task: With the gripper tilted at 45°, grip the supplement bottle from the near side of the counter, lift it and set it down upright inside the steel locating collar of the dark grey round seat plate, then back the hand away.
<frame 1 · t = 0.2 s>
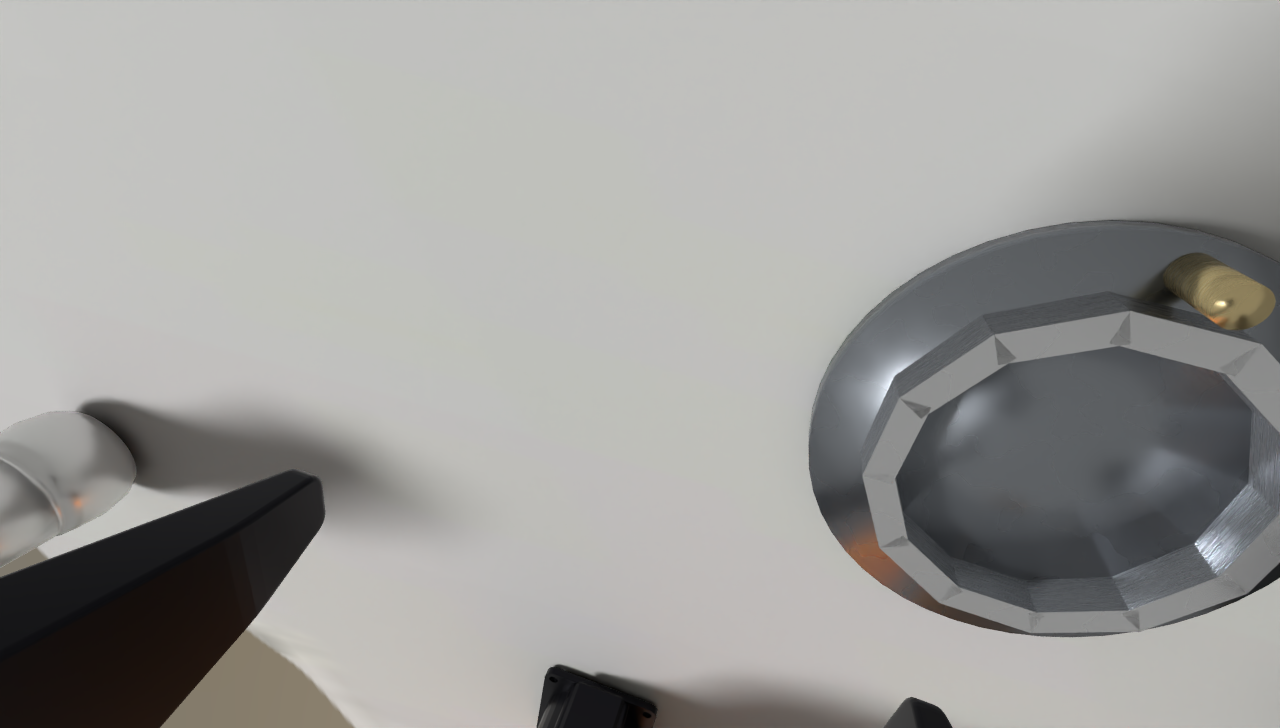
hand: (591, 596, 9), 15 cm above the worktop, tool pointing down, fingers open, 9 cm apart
seat plate: (1048, 449, 21), on the worktop
plastic bottle: (110, 441, 36), on the worktop
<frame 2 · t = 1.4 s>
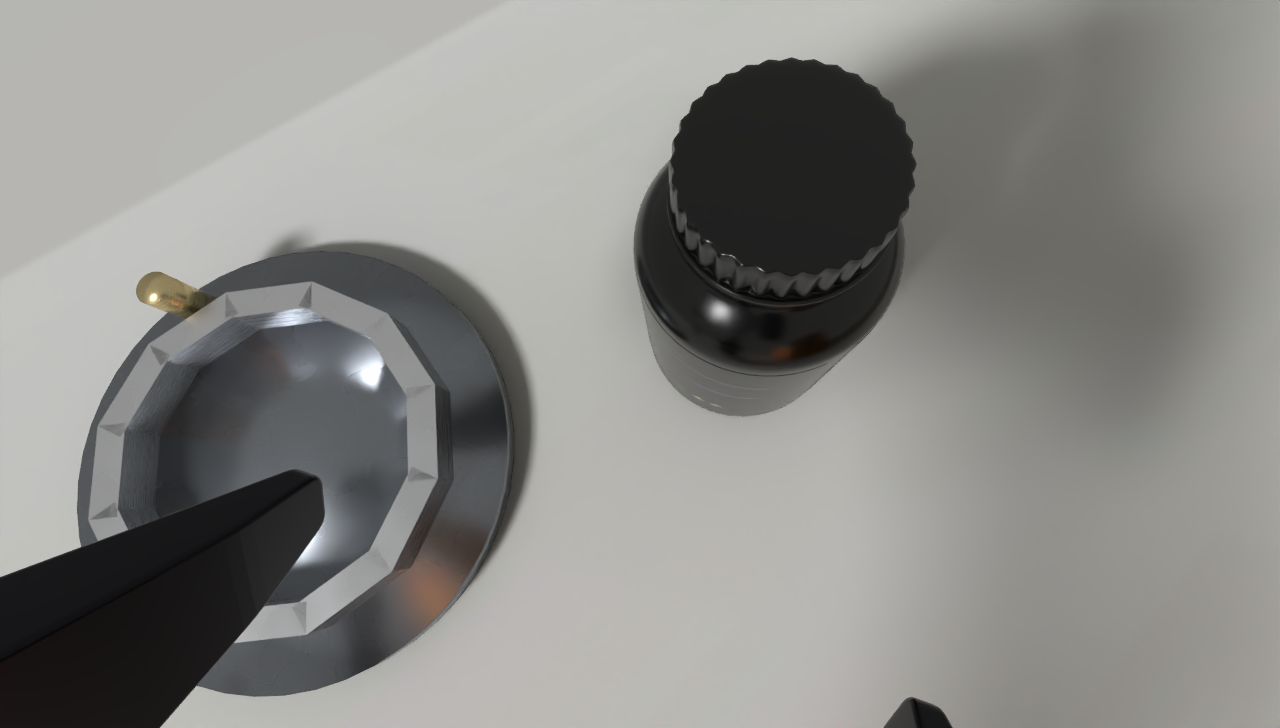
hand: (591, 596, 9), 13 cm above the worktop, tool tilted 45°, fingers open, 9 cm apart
seat plate: (306, 457, 23), on the worktop
supplement bottle: (736, 334, 24), on the worktop
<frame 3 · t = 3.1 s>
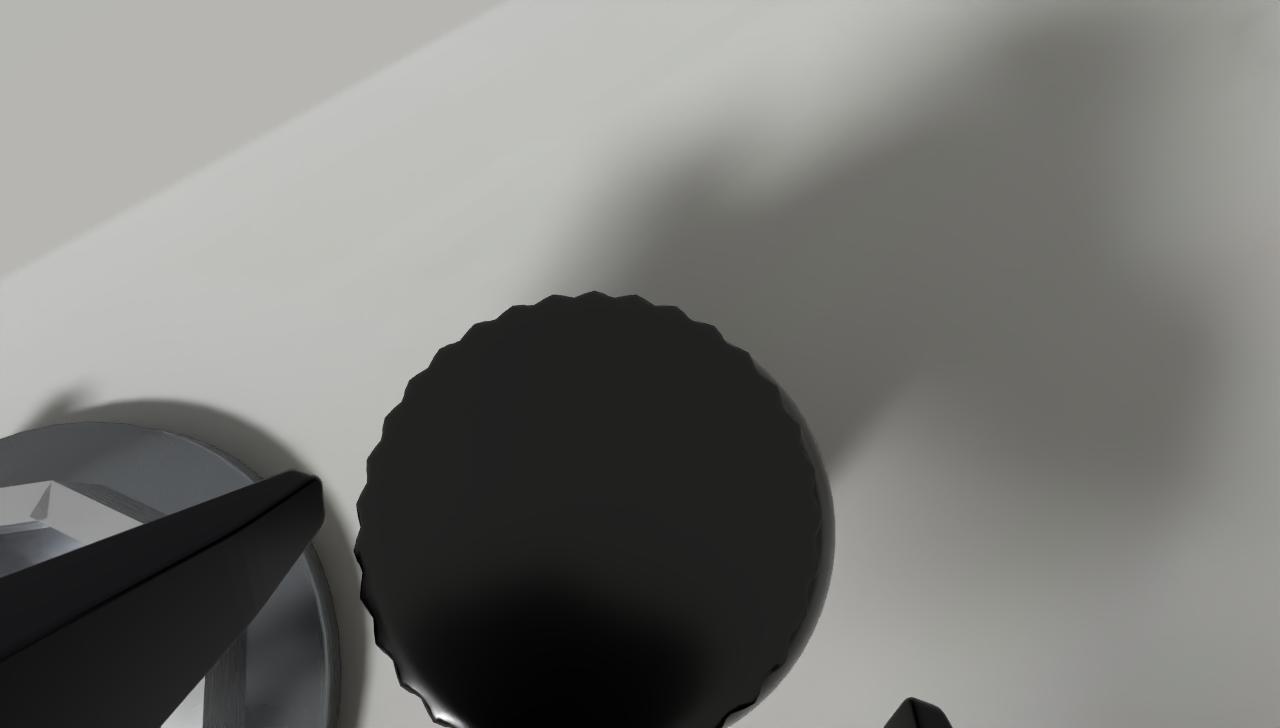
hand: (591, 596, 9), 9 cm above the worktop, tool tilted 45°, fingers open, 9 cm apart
seat plate: (57, 712, 17), on the worktop
supplement bottle: (643, 521, 18), on the worktop
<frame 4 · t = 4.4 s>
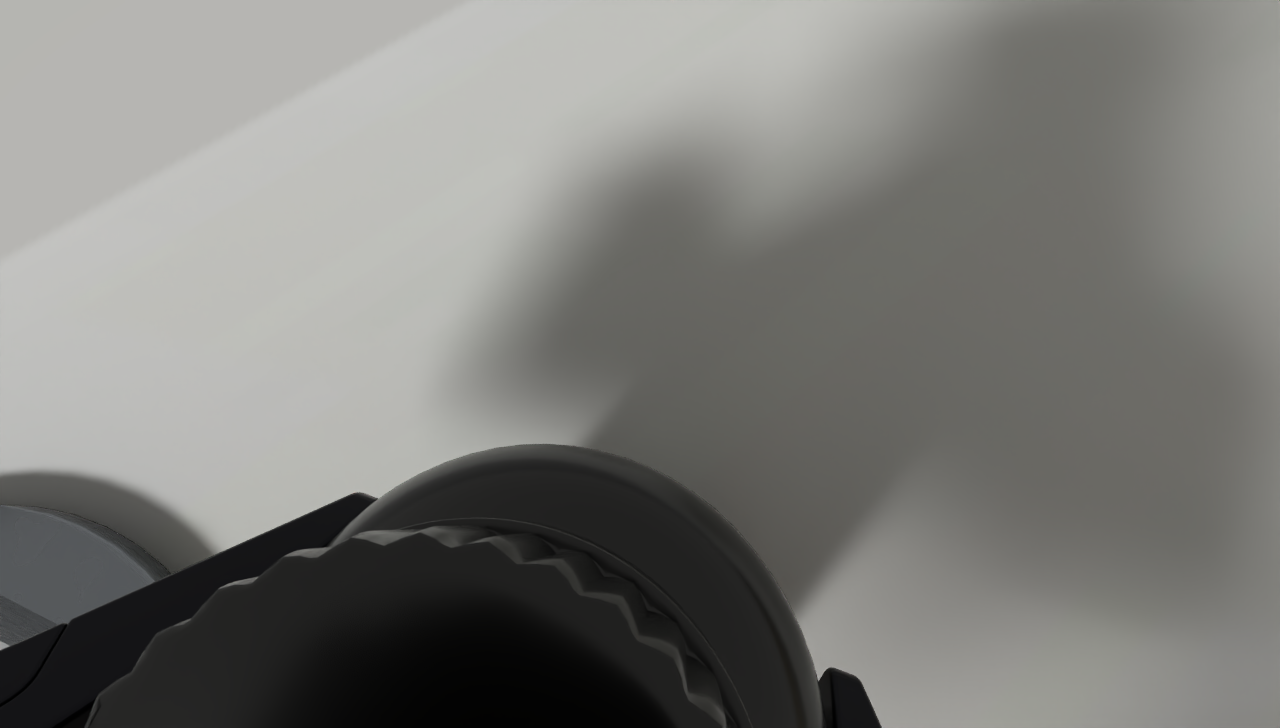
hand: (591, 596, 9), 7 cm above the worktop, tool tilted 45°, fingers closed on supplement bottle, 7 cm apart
supplement bottle: (607, 622, 15), on the worktop, touching gripper
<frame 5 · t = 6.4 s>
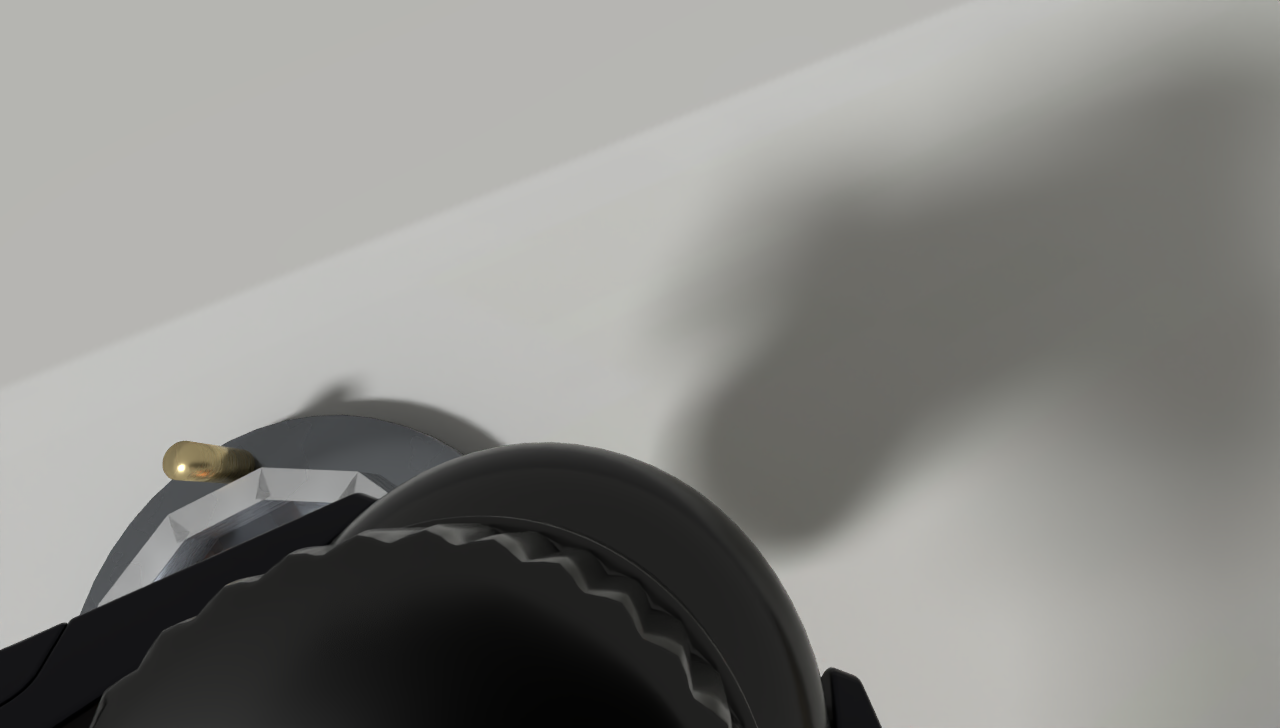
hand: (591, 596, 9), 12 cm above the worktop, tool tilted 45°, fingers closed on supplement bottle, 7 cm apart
seat plate: (321, 655, 20), on the worktop
supplement bottle: (609, 620, 15), point 5 cm above the worktop, touching gripper
when the fingers open (9 cm above the worktop, at t = 8.7 s): supplement bottle stays where it is, resting on seat plate.
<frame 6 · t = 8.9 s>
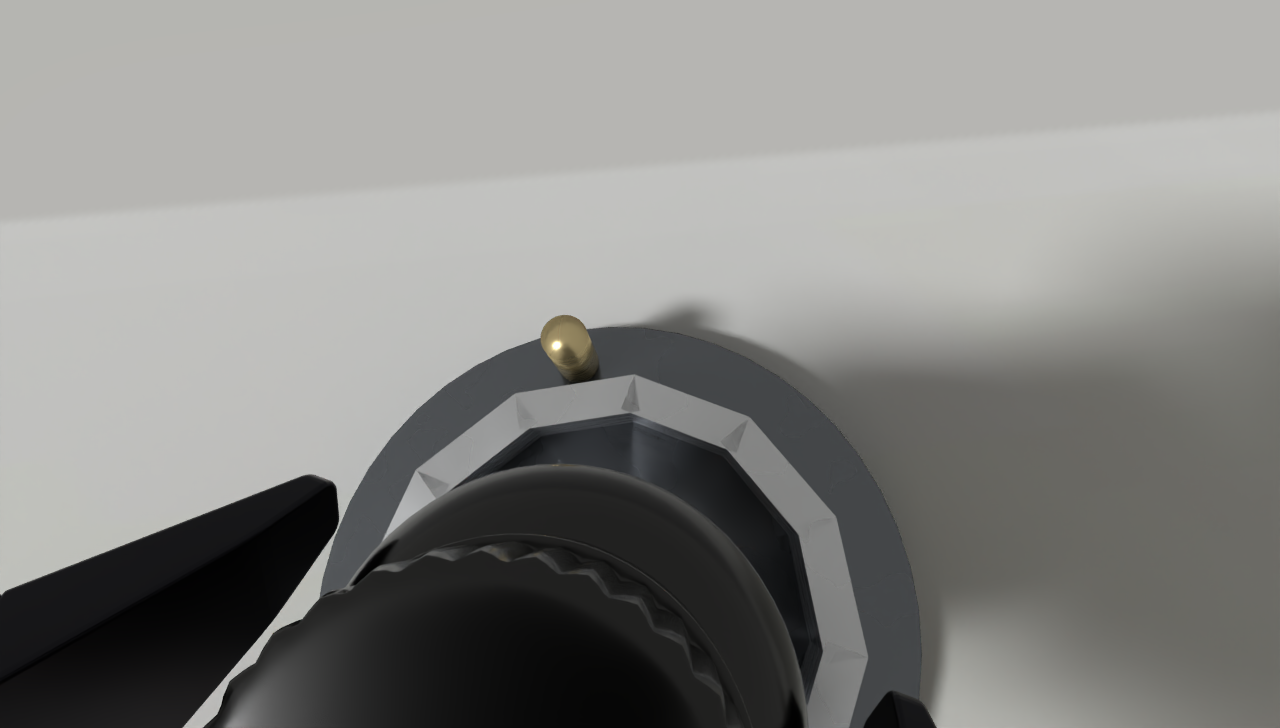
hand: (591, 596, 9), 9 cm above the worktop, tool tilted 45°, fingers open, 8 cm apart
seat plate: (614, 609, 17), on the worktop
supplement bottle: (607, 619, 16), point 1 cm above the worktop, touching seat plate
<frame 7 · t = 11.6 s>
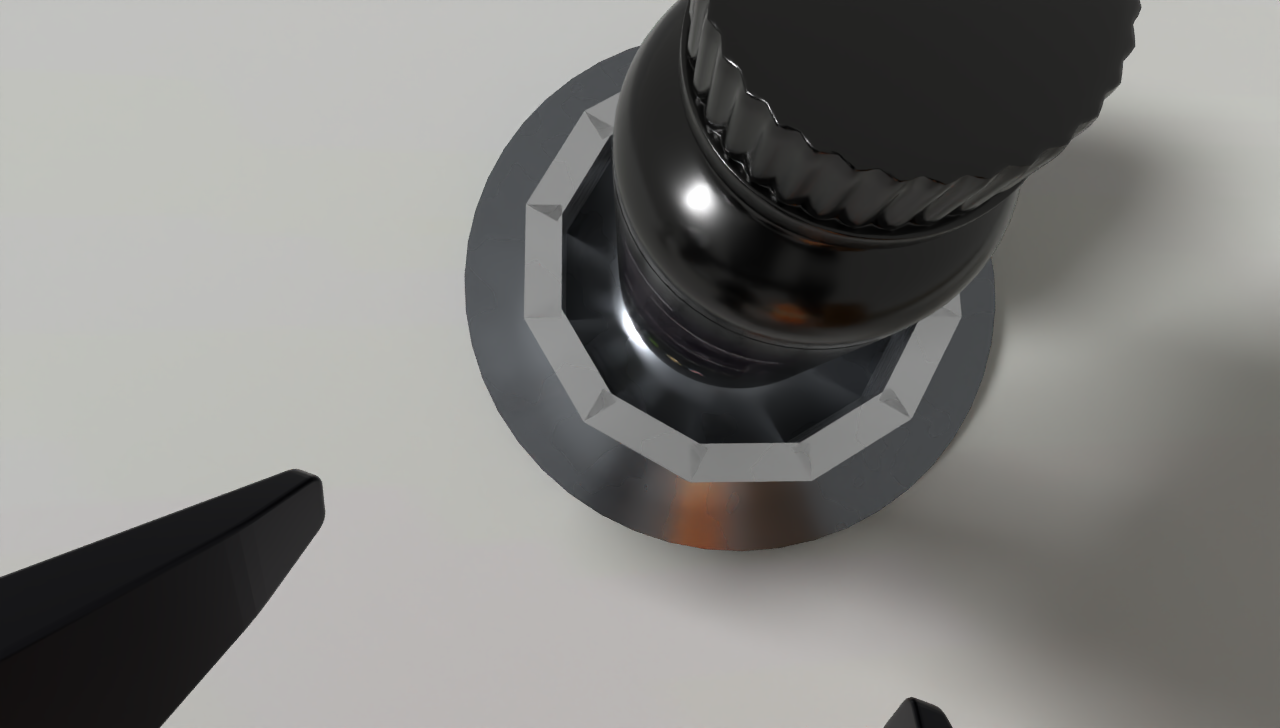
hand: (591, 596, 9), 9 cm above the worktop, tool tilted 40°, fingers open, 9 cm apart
seat plate: (727, 284, 19), on the worktop
supplement bottle: (728, 281, 18), point 1 cm above the worktop, touching seat plate
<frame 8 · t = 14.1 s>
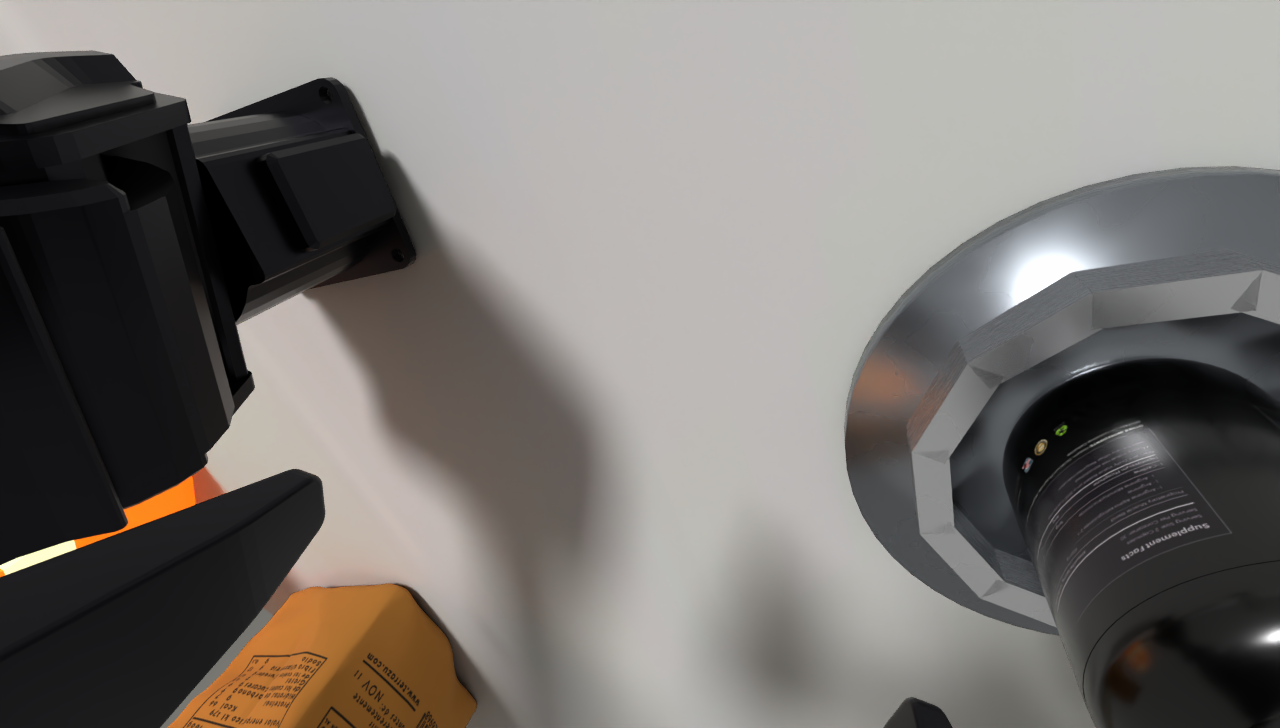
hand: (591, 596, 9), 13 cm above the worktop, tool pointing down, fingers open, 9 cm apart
seat plate: (1117, 434, 19), on the worktop
supplement bottle: (1123, 446, 18), point 1 cm above the worktop, touching seat plate
coffee package: (396, 644, 36), on the worktop
orange juice: (131, 461, 34), on the worktop
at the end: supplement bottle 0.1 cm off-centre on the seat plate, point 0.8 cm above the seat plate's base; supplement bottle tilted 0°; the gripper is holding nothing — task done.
